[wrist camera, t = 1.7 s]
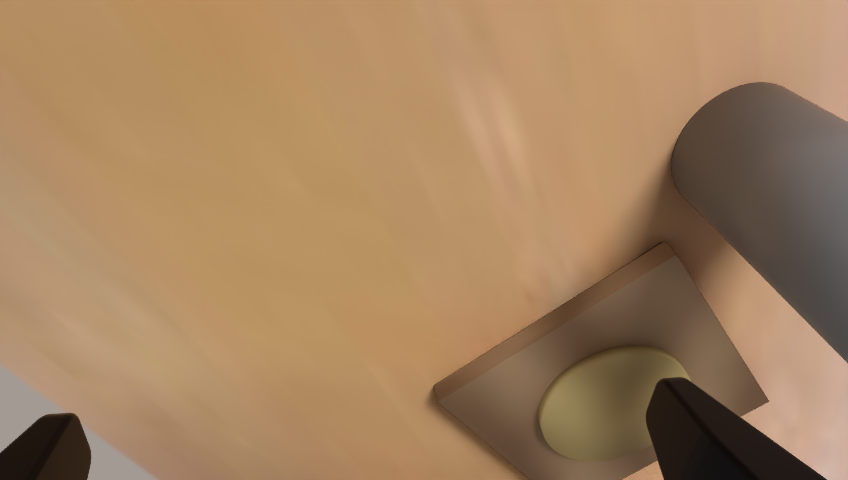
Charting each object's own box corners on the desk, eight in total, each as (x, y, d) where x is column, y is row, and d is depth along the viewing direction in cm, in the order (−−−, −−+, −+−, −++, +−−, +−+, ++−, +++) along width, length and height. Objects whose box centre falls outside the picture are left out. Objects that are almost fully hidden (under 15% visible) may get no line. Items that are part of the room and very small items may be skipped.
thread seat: (559, 492, 34) (568, 519, 33) (434, 385, 28) (439, 412, 27) (757, 386, 31) (776, 410, 30) (665, 240, 25) (683, 262, 24)
